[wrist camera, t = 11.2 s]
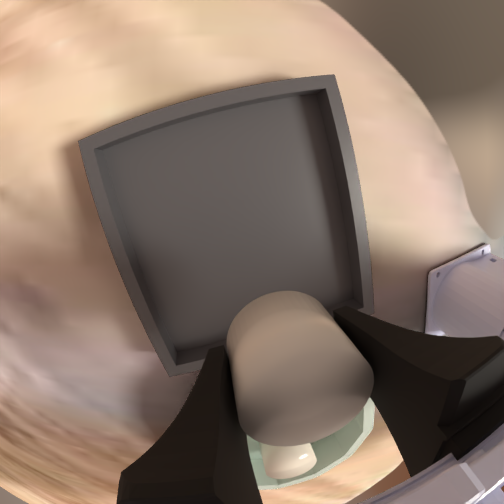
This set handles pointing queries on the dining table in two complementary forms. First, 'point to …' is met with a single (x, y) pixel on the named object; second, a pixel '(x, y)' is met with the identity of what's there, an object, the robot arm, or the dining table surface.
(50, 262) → the dining table surface
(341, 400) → the pebble
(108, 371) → the dining table surface
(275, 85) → the tray
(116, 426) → the dining table surface
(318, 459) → the bowl
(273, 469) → the pebble
